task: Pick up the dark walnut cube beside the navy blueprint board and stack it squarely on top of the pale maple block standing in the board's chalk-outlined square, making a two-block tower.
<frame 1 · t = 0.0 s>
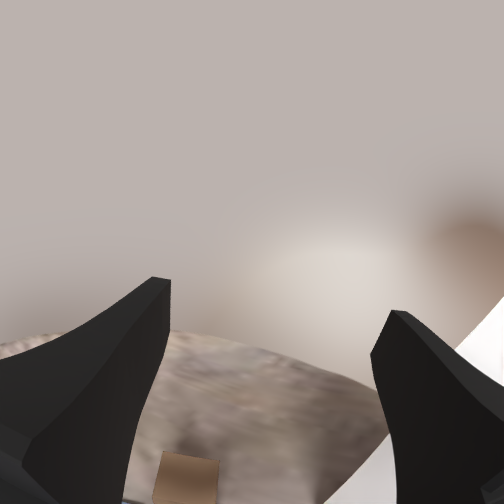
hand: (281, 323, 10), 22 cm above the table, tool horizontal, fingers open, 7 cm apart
walnut cube: (187, 499, 20), on the table
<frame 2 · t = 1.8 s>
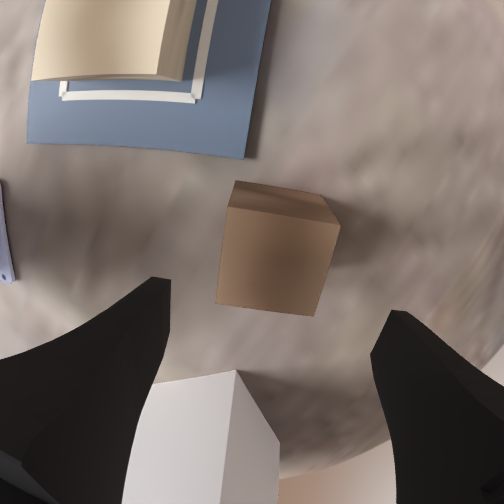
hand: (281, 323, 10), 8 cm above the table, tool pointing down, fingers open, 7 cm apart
walnut cube: (271, 226, 17), on the table
maple block: (134, 25, 12), point 1 cm above the table, touching blueprint board
blueprint board: (138, 27, 12), on the table
milk: (197, 419, 25), on the table
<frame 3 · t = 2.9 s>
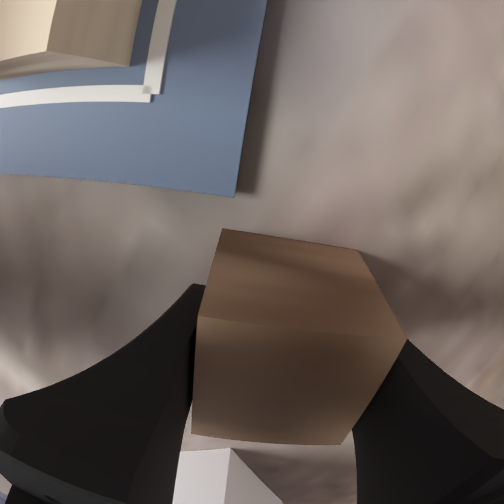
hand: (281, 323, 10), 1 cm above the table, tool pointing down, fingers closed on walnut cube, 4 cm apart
walnut cube: (278, 297, 11), on the table, touching gripper
milk: (187, 483, 19), on the table
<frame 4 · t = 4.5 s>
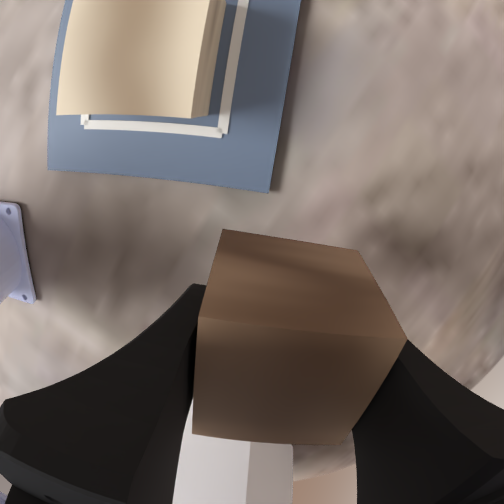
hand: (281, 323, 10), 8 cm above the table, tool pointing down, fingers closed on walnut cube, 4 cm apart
walnut cube: (279, 298, 11), point 7 cm above the table, touching gripper
maple block: (157, 54, 13), point 1 cm above the table, touching blueprint board
blueprint board: (160, 56, 13), on the table
milk: (215, 428, 26), on the table
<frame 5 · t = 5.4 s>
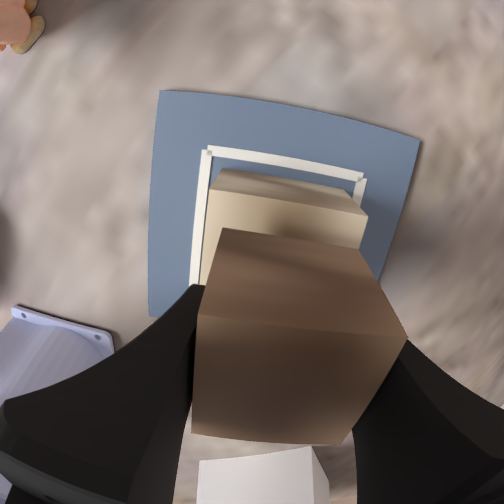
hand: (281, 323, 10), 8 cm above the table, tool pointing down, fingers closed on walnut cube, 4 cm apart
grandmother figurine: (27, 28, 11), on the table
walnut cube: (279, 296, 11), point 6 cm above the table, touching gripper
maple block: (273, 234, 16), point 1 cm above the table, touching blueprint board
blueprint board: (272, 230, 17), on the table
milk: (269, 473, 30), on the table
when the fingers open (7 cm above the table, at t = 5.9 s): walnut cube drops 1 cm, resting on maple block.
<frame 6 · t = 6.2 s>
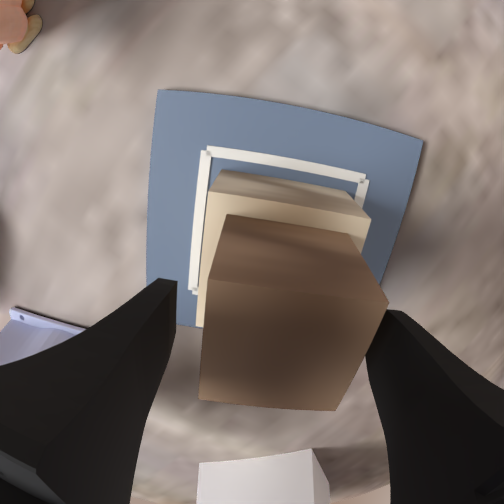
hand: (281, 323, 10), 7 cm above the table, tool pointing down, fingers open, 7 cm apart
grandmother figurine: (25, 27, 11), on the table
walnut cube: (277, 277, 12), point 5 cm above the table, touching maple block
maple block: (273, 237, 16), point 1 cm above the table, touching blueprint board, walnut cube
blueprint board: (273, 232, 17), on the table
milk: (269, 475, 30), on the table
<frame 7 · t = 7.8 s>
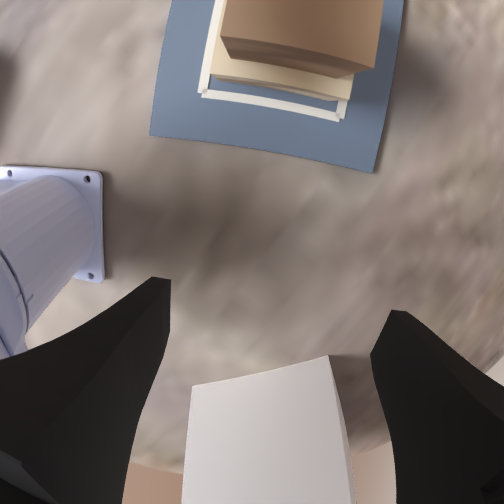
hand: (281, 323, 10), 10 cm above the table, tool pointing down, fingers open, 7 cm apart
walnut cube: (292, 20, 11), point 5 cm above the table, touching maple block
maple block: (283, 39, 14), point 1 cm above the table, touching blueprint board, walnut cube
blueprint board: (282, 41, 15), on the table
milk: (276, 408, 28), on the table
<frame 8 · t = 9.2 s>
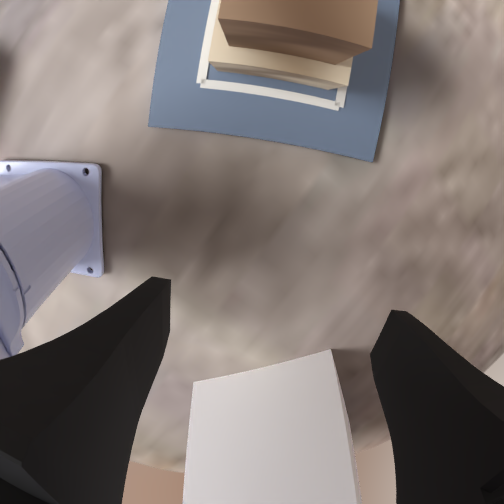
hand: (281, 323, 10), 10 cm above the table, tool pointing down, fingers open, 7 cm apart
walnut cube: (290, 8, 10), point 5 cm above the table, touching maple block
maple block: (281, 29, 14), point 1 cm above the table, touching blueprint board, walnut cube
blueprint board: (281, 32, 14), on the table
milk: (278, 404, 28), on the table
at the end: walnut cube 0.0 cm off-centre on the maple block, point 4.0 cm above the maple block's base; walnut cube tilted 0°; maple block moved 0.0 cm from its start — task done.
